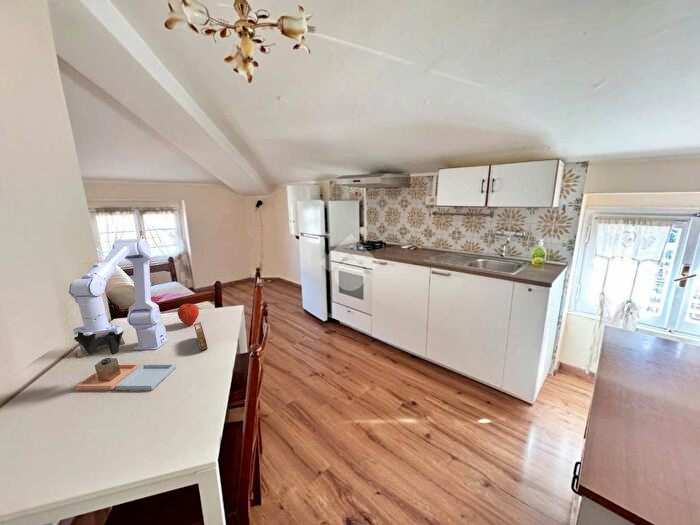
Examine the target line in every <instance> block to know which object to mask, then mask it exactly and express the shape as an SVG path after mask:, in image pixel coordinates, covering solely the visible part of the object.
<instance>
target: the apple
mask: <svg viewBox="0 0 700 525" xmlns="http://www.w3.org/2000/svg"><path fill="white" fill-rule="evenodd" d="M177 315H178V319H179V320H180V321H181V322H182V323H183V324H184V325H185V326H186V327H187V326H188V327H193V325H194V324H195V322H196V321H197V319H198V317H199V315H200V311H199V308H198V306H197V305H195V304H194V303H184V304H182V305H180V306H179V307H178V309H177Z"/></svg>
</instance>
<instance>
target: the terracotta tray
mask: <svg viewBox="0 0 700 525" xmlns="http://www.w3.org/2000/svg"><path fill="white" fill-rule="evenodd" d="M118 364H119V368H120V372H121V374H120V375H119V376H117V377H116V378H114V379H113V380H112V381H99V380H98V376H97V373H96V372H94V373H92V374H91V375H89V376H88V377H86V378H85V379H84V380H82V381H80V382H79V383H78V384H76V385H75V388H76V391H79V392H80V391H84V392H88V391H89V392H91V391H98V392H99V391H101V392H102V391H103V392H107V391H109V392H111V390H113V391H114V390H116V387H115V386H116V385H117V384H118V383H120V382H121V381H122V380H123V379H125V378H126V377H127V376H129V375H130V374H131V373H132V372H134V371H135V370H136V369H138V368H139V367H140V366H141V364H140V363H118Z"/></svg>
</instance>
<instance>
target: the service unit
mask: <svg viewBox="0 0 700 525" xmlns="http://www.w3.org/2000/svg"><path fill="white" fill-rule="evenodd" d="M106 335H108V333H96V337H95V340H96V346H97V352H95V353H93V354H97V353H100V352H104V351H107V350H109V347H108V345H107V343H106V342H105V341H104V340H103V339H102V338H103V337H104V336H106ZM78 345H79V348H78V349H76V350H77V355H78V358H79V359H80V358H83V357H87V356H90V355H89V354H88V352H87V351H86V350H85V348H84V347H83V346H82V345H81V344H80V343H78ZM122 345H126V343H125V340H124V338H123V336H122V337H121V340H120V344H119V347H120V346H122ZM93 354H92V355H93Z"/></svg>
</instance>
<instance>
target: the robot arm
mask: <svg viewBox="0 0 700 525" xmlns="http://www.w3.org/2000/svg"><path fill="white" fill-rule="evenodd" d="M151 249H152V247H151V244H150V243H149V241H148V240H147V239H145V238H137V239H117V240H115V242H113V244H112V250H111V251H110V253H108V255H107V256H106V258H105V259H104V260H103V261H100V262H99V261H98V262H95V263H93V264H92V267H91V268H90V269H89V270H87V272H86V273H84V274H83V276H82V277H80V278H77V279H74V280H73V281H72V282H71V283H70V284H69V286H68V287H69V288H68V291H67V292H68V294H69V295H70V297H72V298H73V300H74V303H76V304H77V305H78V309H79V312H80V313H79V314H80V315H81V320H82V323H83V325H81V326H80V325H79V326H77V327H75V328H72V331H73V334H74V335H77V336H75V337H74V338H73V340H74V341H75V342H77V343H78V344H79V343H80V344H81V345H82V346H83V347H84V348H85V350H86V351H87V352H88V354H89V355H88V356H92V355H93V353H94V354H96V353H95V352H97V346H96V340H95V337H96V333H108V335H106V336H104V337H103V338H102V339H103V340H104V341H105V342H106V343H107V345H108V347H109V349H108V350H109V353H110V355H112V356H113V355H115V354H117V353H119V352H120V346H119V344H120V340H121V337H122V338H123V335H124V330H123V325H116V324H112V323H110V322H109V319H108V315H107V311H106V307H105V303H104V298H103V295H102V294H104V293H105V290H106V286H107V283H108V281H109V280H110V279H111V277H113V276H114V274H115V273H116V270H115V267H117V266H118V265H119V264H120V263H121V262H122V261H123V260H127V261H129V262H131V263H132V267H133V268H132V269H133V286H134V287H133V289H134V303H133V304H132V305H131V306H129V308H128V313H127V317H126V319H127V323H128V325H130V326H132V328H133V329H135V332H136V333H135V334H136V337H137V343H138V345H137V346H135V347H133V350H138V351H139V350H140V351H141V350H147V351H148V350H152V351H153V350H157V349H159V348H160V347H161V346H163V345H164V344H166V343H167V342H168V341H170V339H169V338H168V334H167V329H166V326H165V325H163V324H160V323H159V322H160V320H161V316H162V314H161V311H160V307H159V304H157V303H155V302H154V301H152V292H151V291H152V290H151V273H150V270H151V269H150V268H151V267H150V260H151V259H152V252H151ZM97 353H98V352H97Z"/></svg>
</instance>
